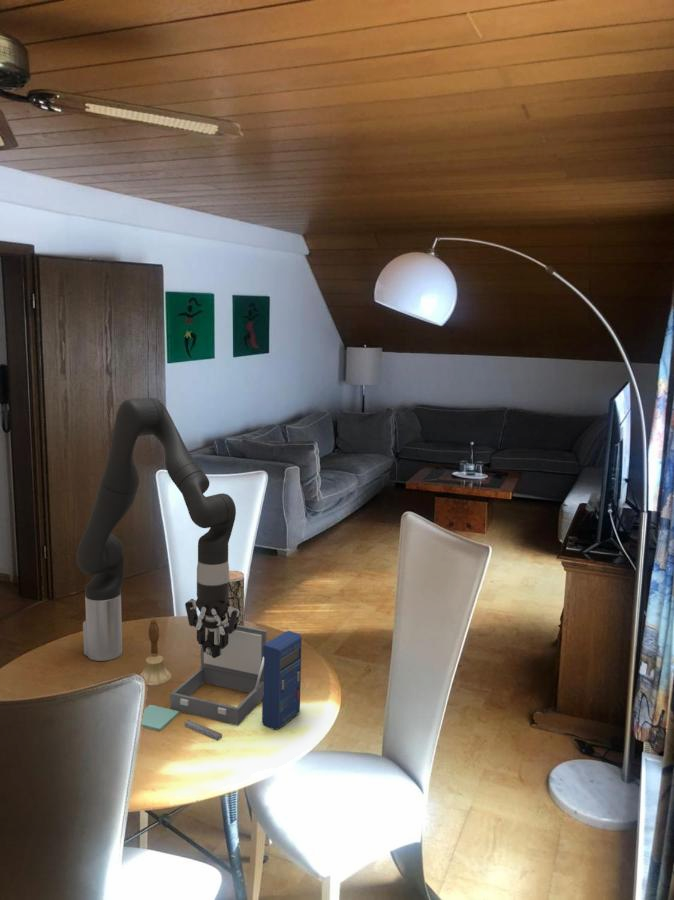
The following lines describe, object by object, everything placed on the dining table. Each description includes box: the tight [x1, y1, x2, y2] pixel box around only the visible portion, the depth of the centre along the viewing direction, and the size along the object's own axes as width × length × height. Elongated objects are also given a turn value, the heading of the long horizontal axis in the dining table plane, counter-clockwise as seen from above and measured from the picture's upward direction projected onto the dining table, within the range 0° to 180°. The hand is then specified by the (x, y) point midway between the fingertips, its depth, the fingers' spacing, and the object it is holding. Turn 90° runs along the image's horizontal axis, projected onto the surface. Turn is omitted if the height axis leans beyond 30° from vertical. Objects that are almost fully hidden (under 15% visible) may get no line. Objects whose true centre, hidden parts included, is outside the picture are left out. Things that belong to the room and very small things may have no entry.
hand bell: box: [139, 619, 172, 687], centre depth 192 cm, size 8×8×16 cm
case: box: [169, 623, 268, 726], centre depth 181 cm, size 19×16×17 cm
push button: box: [200, 615, 224, 658], centre depth 179 cm, size 7×5×10 cm
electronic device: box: [261, 630, 303, 730], centre depth 174 cm, size 10×5×20 cm, turn 148°
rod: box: [184, 719, 223, 742], centre depth 169 cm, size 10×1×1 cm, turn 57°
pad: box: [140, 704, 180, 732], centre depth 174 cm, size 8×8×1 cm
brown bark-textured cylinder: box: [226, 570, 245, 626], centre depth 200 cm, size 7×7×25 cm
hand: (212, 645), depth 179 cm, fingers closed on push button, 5 cm apart
